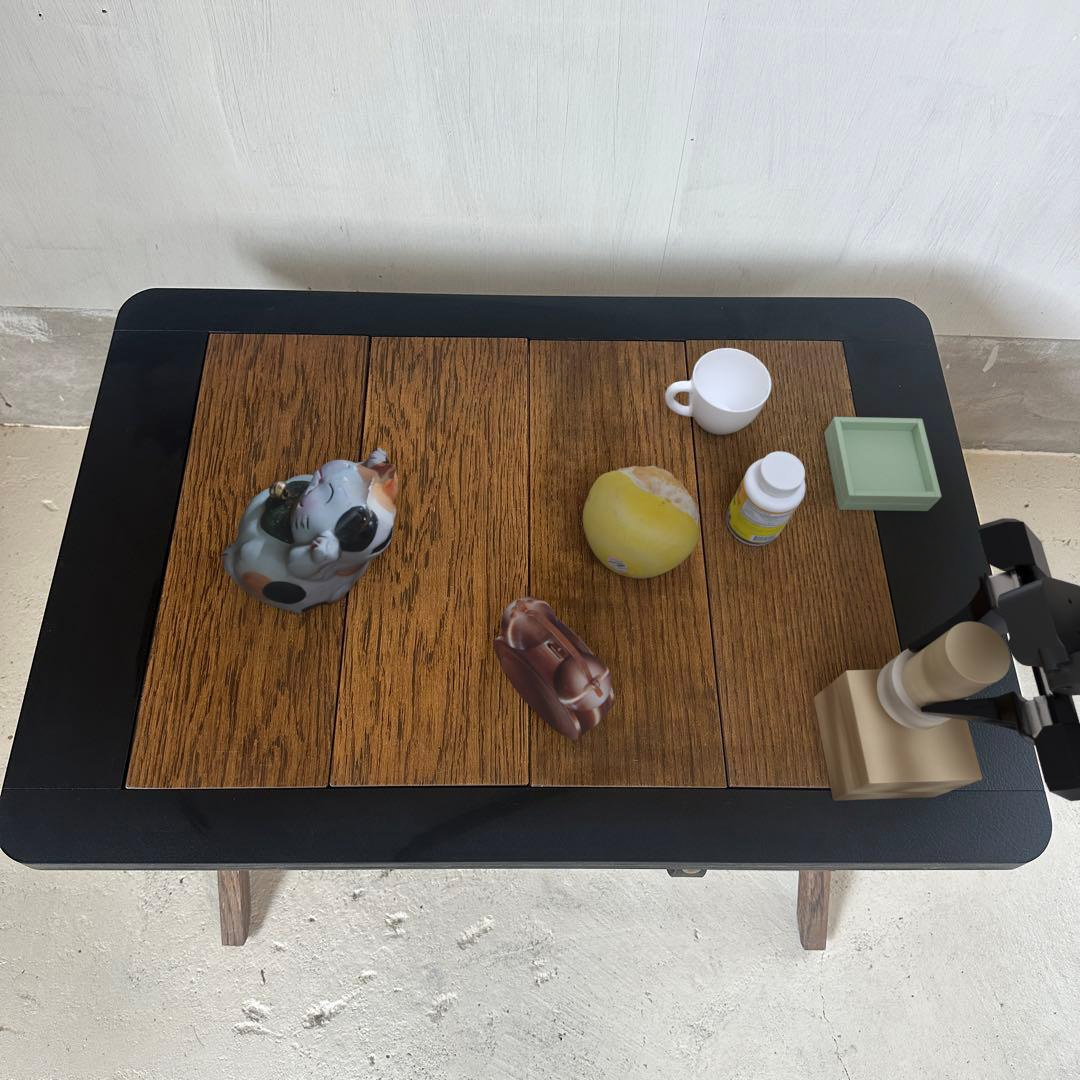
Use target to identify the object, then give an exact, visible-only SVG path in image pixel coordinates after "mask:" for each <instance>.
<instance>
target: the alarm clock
mask: <svg viewBox="0 0 1080 1080" xmlns="http://www.w3.org/2000/svg"><path fill="white" fill-rule="evenodd" d="M504 609H505V610H504V611H503V612H502V615H501V621H500V626H501V627H500V628H501V633H500V634H499V635H498V637H497V638H495V639H494V640H493V641H492V646H493V650H494V654H495V655H496V658H497V660H498V662H499V664H500V665H501V668H502V669H503V672H504V674H505V675H506V677H507V679H508V681H509V682H510V683H511V685H512V686H513V688H514V689H515V691H516V692H517V693H518V694H519V696H520V697H521V699H522V700H523V701H524V702H525V703H526V704H527V706H528V707H529V708H530V709H531V710H532V711H533V712H534V714H536V715H537V716H538V717H539V718H540V719H541V720H542V721H543V722H545V723H546V724H547V725H548V726H549V727H551V728H552V729H553V730H555V731H556V733H558V734H560V735H561V736H562V737H564V738H566V739H567V740H570V741H578V739H579V738H581V737H582V736H583V735H585V734H586V733H588V732H589V731H591V730H592V729H593V728H594V727H596V726H597V725H598V724H599V723H600V722H601V721H602V719H604V717H605V716H606V715H607V714H608V713H609V712H610V711H611V709H612V708H613V707H614V706H615V703H616V697H615V693H614V690H613V687H612V682H613V681H612V680H613V678H612V674H611V672H610V669H609V668H608V666H607V664H606V663H605V662H604V661H603V660H602V659H601V658H599V657H598V656H596V655H595V654H594V653H593V652H592V650H591V649H590V648H589V647H588V646H587V644H586V643H585V642H584V641H583V640H582V638H581V637H580V636H579V635H578V634H577V633H575V632H574V630H572V629H571V628H570V627H569V625H568V624H565V622H563V621H562V620H560V618H557V615H556V614H555V612H554V609H553V608H552V607H551V606H550V605H549V604H548V603H547V602H546V601H545V600H543V599H542V598H540V597H537V596H524V597H520V598H517V599H515V600H513V601H512V602H511V603H510V604H509V605H508V606H507V607H506V608H504Z"/></svg>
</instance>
